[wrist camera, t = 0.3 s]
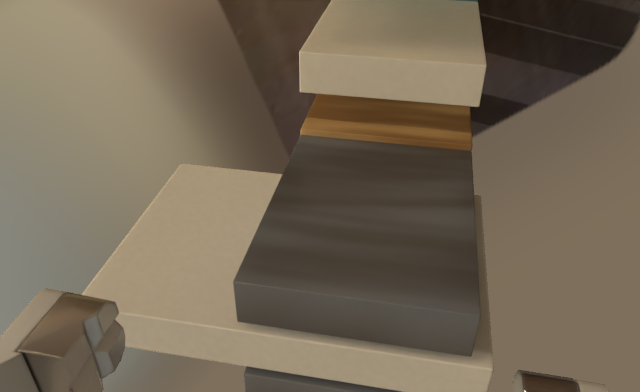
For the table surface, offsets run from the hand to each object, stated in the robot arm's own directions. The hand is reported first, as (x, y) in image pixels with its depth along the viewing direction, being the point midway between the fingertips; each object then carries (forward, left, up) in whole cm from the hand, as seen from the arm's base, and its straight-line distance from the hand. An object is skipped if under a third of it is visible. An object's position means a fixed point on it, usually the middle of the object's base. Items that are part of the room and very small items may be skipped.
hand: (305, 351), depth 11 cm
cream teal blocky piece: (0, 0, -48) cm, 48 cm away
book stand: (+11, 0, -48) cm, 49 cm away
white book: (+11, -4, -22) cm, 25 cm away
